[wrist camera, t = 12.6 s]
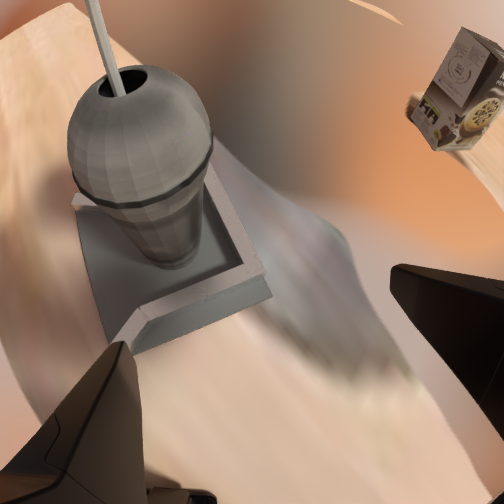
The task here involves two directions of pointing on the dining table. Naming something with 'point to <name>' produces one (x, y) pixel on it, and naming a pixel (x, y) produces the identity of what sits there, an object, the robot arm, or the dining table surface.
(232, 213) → the flared docking tray
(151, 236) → the beverage cup
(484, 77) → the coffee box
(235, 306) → the gray raised edge tray
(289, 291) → the dining table surface
